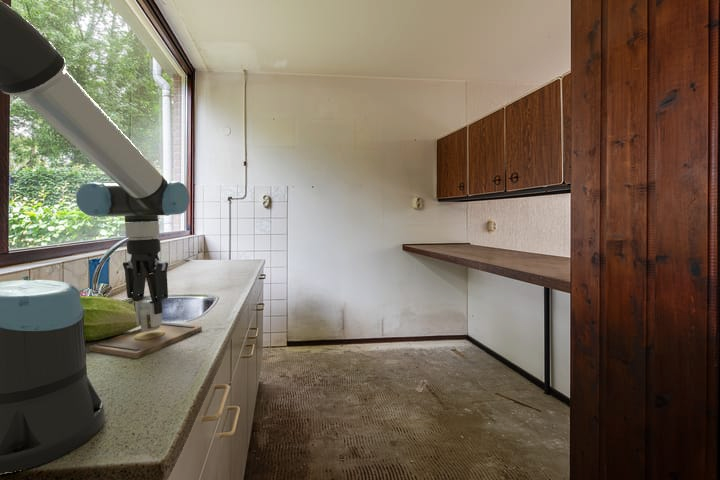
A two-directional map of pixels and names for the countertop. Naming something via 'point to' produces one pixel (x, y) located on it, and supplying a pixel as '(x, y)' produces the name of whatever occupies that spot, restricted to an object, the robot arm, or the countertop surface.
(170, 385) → the countertop surface
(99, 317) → the green papaya
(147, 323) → the pill bottle
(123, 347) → the cutting board
